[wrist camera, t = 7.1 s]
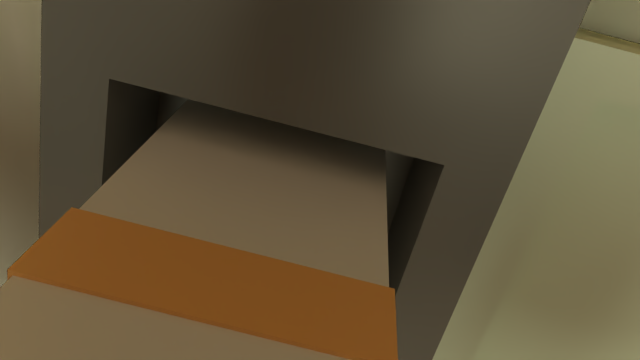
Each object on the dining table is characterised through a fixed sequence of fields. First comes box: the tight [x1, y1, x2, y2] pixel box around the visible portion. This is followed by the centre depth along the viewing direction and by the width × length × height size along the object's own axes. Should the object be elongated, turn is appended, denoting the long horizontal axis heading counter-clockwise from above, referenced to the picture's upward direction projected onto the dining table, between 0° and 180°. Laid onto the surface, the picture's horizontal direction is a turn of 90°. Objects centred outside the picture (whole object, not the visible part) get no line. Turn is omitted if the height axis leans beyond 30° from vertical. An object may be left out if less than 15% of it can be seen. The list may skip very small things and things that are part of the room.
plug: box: [0, 99, 398, 360], centre depth 8 cm, size 4×4×7 cm
